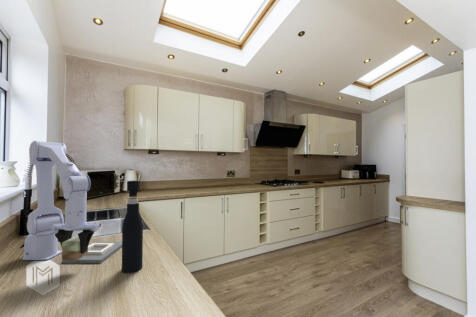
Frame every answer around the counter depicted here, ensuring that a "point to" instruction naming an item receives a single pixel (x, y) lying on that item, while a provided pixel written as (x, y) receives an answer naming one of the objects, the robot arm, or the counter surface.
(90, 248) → the pocket board
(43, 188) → the robot arm
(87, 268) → the counter surface
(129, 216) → the wine bottle
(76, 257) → the block stack
